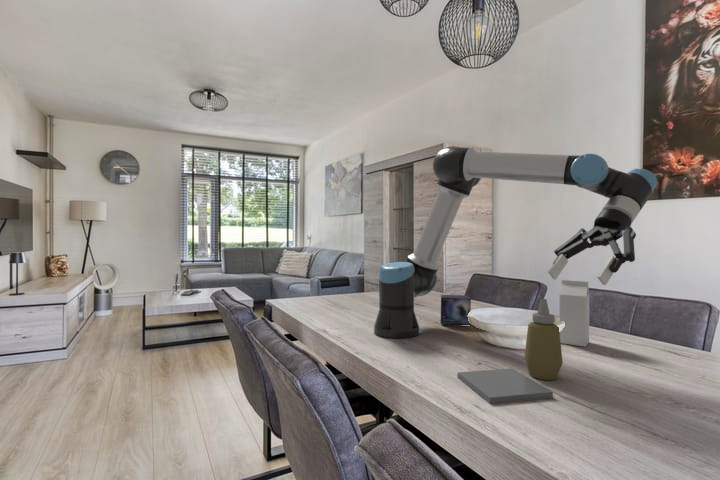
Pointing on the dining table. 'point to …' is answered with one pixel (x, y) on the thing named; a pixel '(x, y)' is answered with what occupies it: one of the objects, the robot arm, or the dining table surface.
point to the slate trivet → (504, 385)
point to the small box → (455, 309)
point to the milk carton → (574, 312)
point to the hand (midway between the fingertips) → (574, 278)
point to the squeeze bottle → (543, 345)
